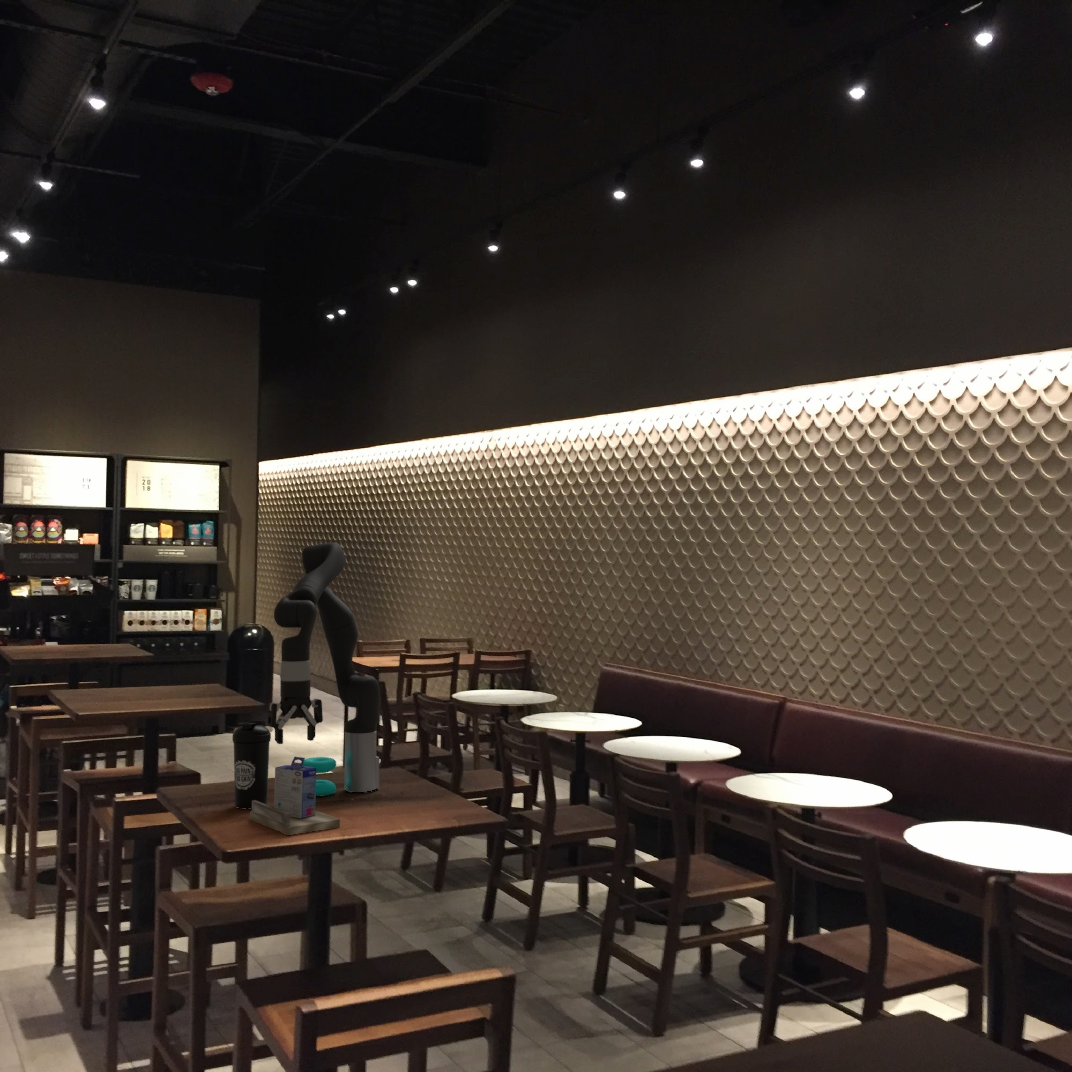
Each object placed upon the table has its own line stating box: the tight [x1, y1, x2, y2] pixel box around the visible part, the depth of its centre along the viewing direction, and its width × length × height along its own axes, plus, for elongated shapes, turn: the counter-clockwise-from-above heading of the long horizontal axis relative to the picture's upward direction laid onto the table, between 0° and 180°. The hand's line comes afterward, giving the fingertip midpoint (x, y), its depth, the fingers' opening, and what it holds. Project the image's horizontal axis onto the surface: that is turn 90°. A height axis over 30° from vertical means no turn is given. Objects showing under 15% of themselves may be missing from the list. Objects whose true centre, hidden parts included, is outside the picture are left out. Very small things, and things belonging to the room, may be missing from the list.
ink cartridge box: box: [273, 756, 317, 818], centre depth 273 cm, size 10×6×14 cm, turn 60°
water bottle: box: [231, 719, 272, 810], centre depth 293 cm, size 10×10×23 cm
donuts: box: [303, 756, 337, 796], centre depth 309 cm, size 10×10×10 cm
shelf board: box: [249, 800, 341, 836], centre depth 273 cm, size 14×22×5 cm, turn 39°
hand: (295, 741), depth 273 cm, fingers open, 8 cm apart
